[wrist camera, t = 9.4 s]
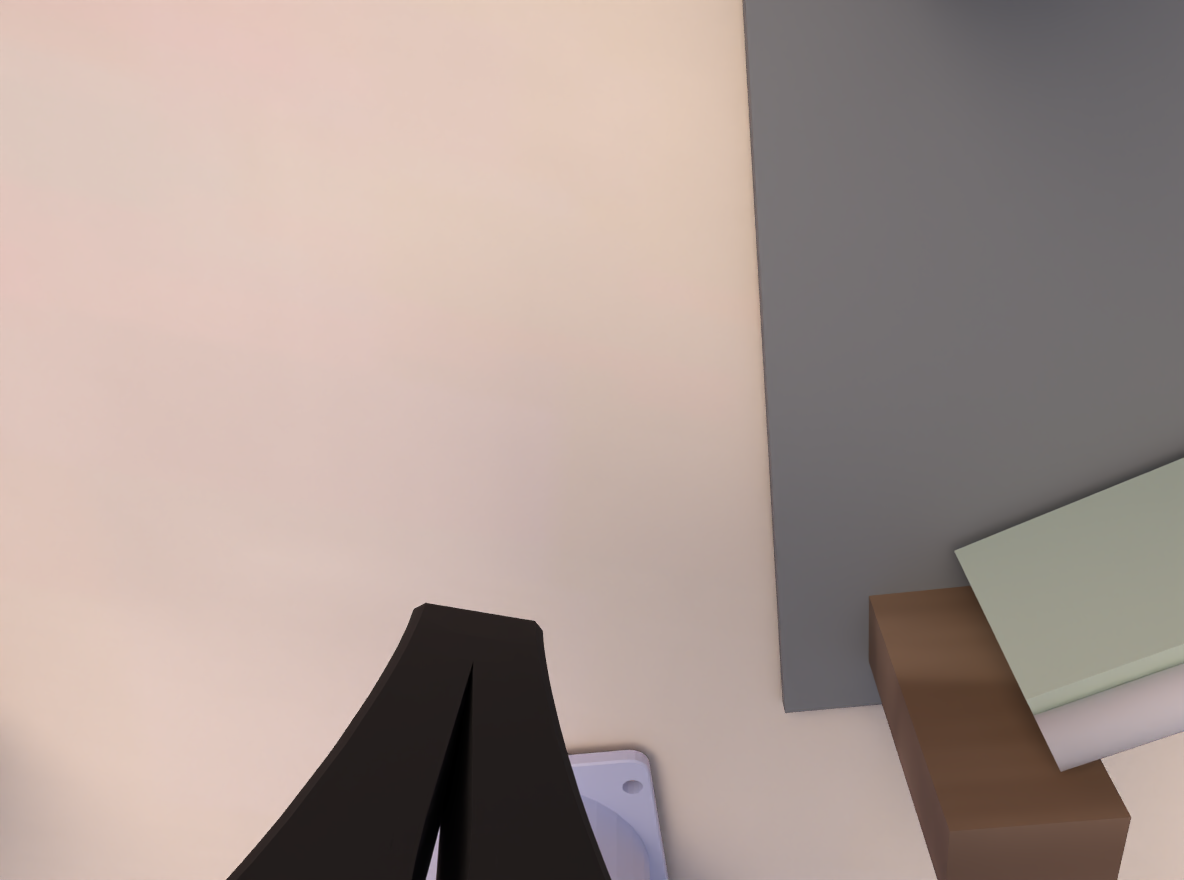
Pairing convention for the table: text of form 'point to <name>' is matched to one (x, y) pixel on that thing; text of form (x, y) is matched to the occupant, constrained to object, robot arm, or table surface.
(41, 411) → the table surface
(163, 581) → the table surface
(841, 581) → the yard mat
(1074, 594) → the gate
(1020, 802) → the gate posts
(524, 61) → the table surface
